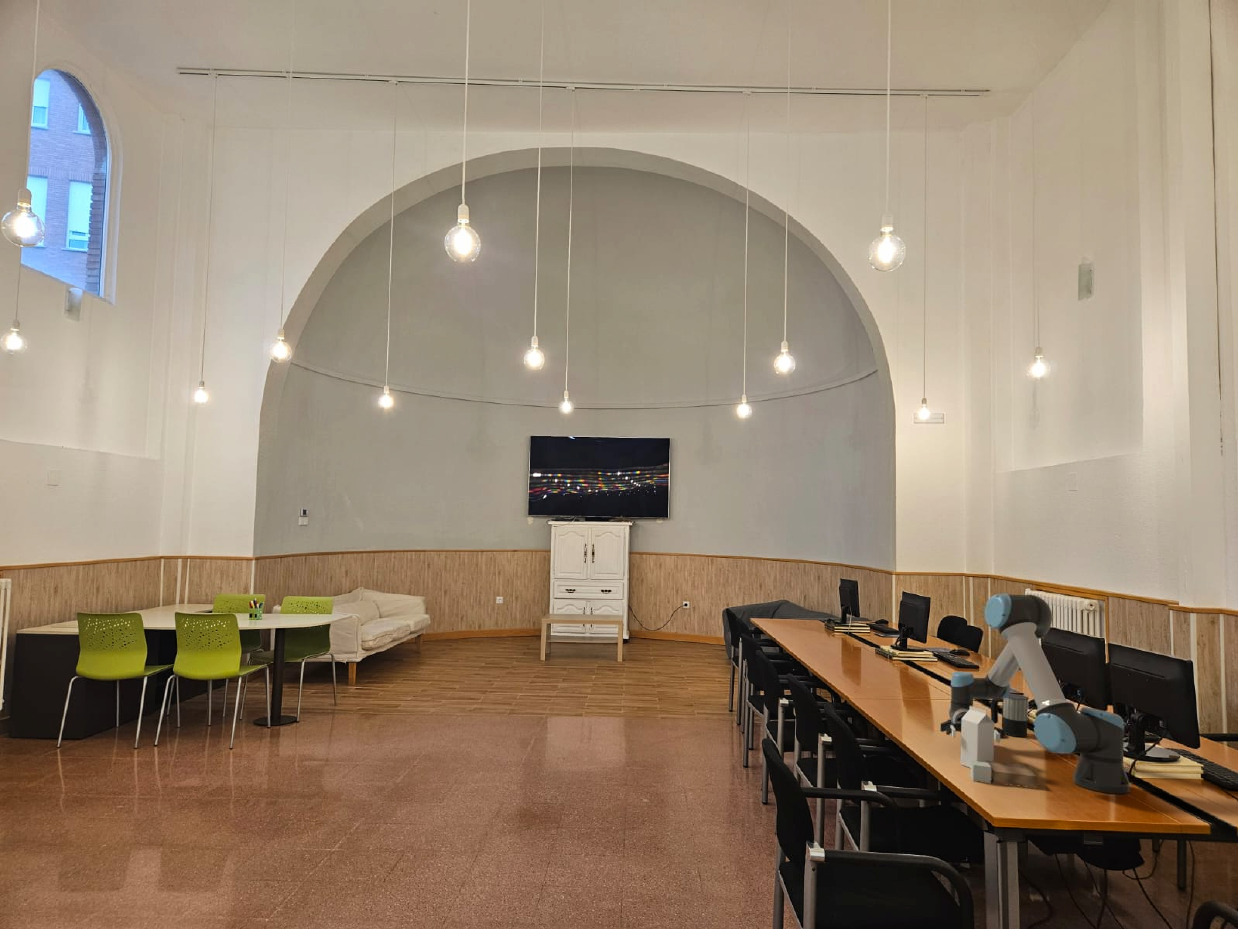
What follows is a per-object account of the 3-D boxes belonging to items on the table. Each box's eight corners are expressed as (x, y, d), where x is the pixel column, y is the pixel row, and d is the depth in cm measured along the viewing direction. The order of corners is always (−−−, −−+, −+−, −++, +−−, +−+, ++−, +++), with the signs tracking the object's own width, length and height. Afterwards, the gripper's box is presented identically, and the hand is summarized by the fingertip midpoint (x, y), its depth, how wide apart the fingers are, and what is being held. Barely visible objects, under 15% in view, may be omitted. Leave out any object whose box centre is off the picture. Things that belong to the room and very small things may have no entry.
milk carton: (976, 771, 267) (978, 711, 268) (960, 764, 273) (961, 706, 275) (993, 769, 269) (994, 710, 271) (976, 763, 276) (978, 705, 277)
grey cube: (987, 779, 259) (987, 762, 259) (990, 783, 254) (990, 767, 255) (970, 777, 260) (970, 760, 261) (973, 781, 256) (973, 765, 256)
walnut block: (1026, 778, 263) (1027, 765, 263) (1036, 789, 252) (1036, 776, 252) (986, 773, 266) (986, 761, 266) (993, 784, 254) (994, 771, 255)
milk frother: (1029, 734, 322) (1030, 695, 323) (1025, 742, 308) (1026, 702, 309) (989, 728, 329) (990, 690, 330) (984, 736, 316) (985, 696, 317)
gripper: (1003, 736, 290) (1017, 752, 269) (928, 728, 296) (935, 743, 275) (1004, 715, 290) (1017, 729, 270) (928, 707, 296) (936, 720, 276)
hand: (976, 736), depth 272 cm, fingers open, 13 cm apart
